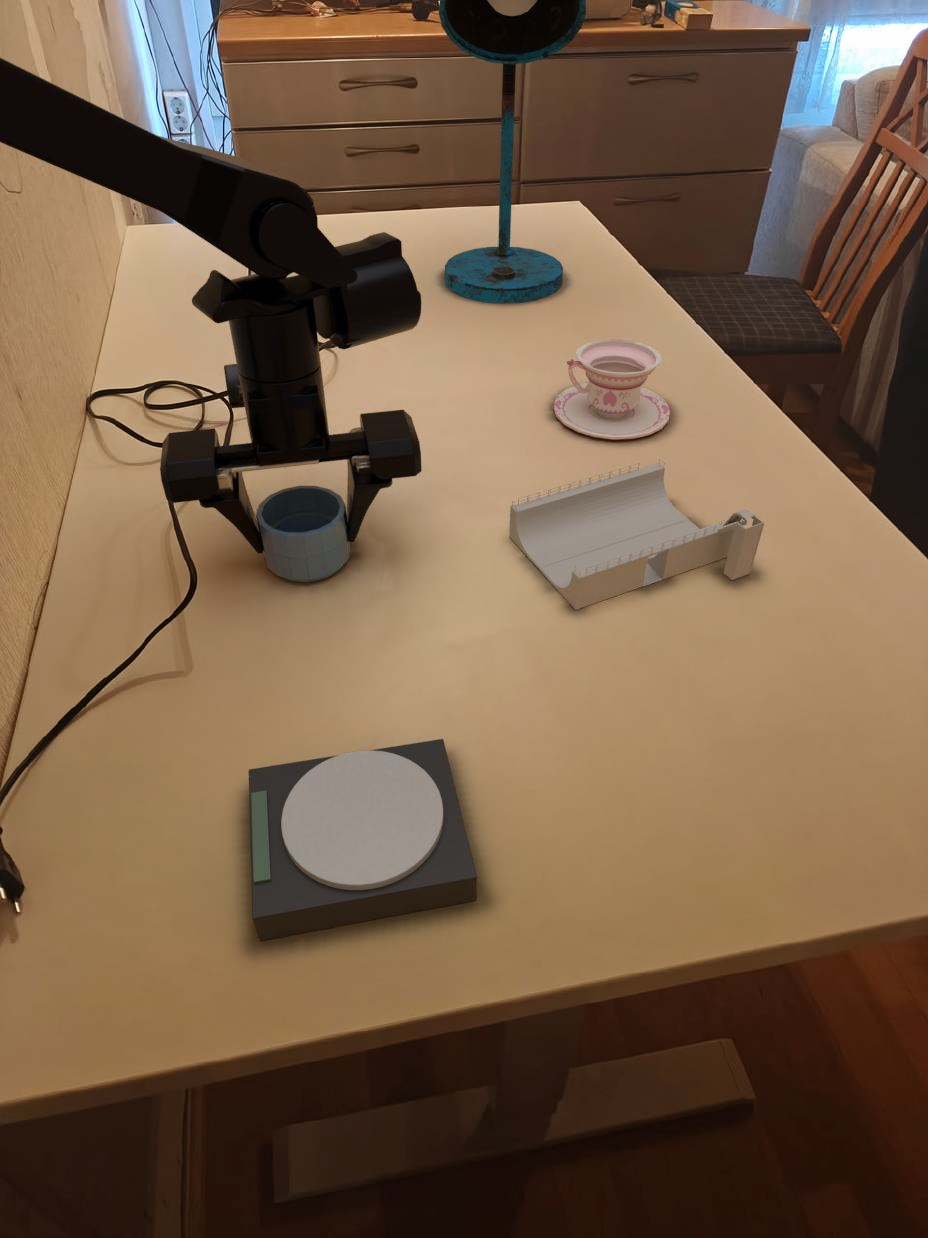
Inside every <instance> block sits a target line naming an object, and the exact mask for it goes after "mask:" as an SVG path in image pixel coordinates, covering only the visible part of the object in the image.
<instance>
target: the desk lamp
mask: <svg viewBox="0 0 928 1238" xmlns="http://www.w3.org/2000/svg"><path fill="white" fill-rule="evenodd" d="M586 2H587V1H586V0H439V6H438V16H439V21H440V24H441V28H442V30H443V31H444V32H445V35H446V36H447V37H448V39H449V40H450V41H451V43H453V45H456V47H458V49H460V50H461V51H462V52H464V53H466V54H468V55H470V56H471V57H474V58H476V59H477V60H478V59H479V60H482V61H485V62H489V63H492V64H502V83H501V84H502V85H501V117H500V118H501V120H500V121H501V122H500V158H499V159H500V160H499V161H500V164H499V167H500V168H499V199H498V200H499V201H498V202H499V203H498V204H499V205H498V207H499V208H498V242H497V244H498V246H484V247H478V248H473V249H469V250H465V251H462V252H459V253H457V254H455V255H453V256H451V258H449V259H448V260H447V261H446V263H445V265H444V283H445V286H446V287H447V288H448V289H449V290H450V291H451V292H452V293H455V294H456V295H459V296H460V297H463V298H465V299H469V300H472V301H479V302H483V303H484V302H485V303H493V304H518V303H519V304H520V303H527V302H532V301H537V300H540V299H545V298H547V297H549V296H551V295H553V294H556V293H557V292H558V291H559V289H560V288H562V285H563V281H564V280H563V279H564V266H563V264H562V262H561V261H560V260H559V259H557V258H556V257H555V256H553V255H550V254H548V253H546V252H544V251H539V250H536V249H533V248H526V247H520V246H511V228H512V223H511V222H512V197H513V168H514V167H513V165H514V163H513V162H514V135H515V134H514V133H515V108H516V107H515V105H516V104H515V103H516V74H517V73H516V72H517V70H516V69H517V65H520V64H529V63H532V62H536V61H540V60H543V59H546V58H549V57H550V56H552V55H554V54H557V53H559V52H560V51H561V50H562V49H564V48H566V47H567V46H568V45H569V44H570V43H571V42H572V41H573V40H574V39H575V37H576V36H577V35H578V33H579V32H580V30H581V29H582V26H583V24H584V21H585V18H586V15H587V3H586Z"/></svg>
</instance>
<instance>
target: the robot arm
mask: <svg viewBox="0 0 928 1238" xmlns="http://www.w3.org/2000/svg"><path fill="white" fill-rule="evenodd" d="M0 143H1V144H3V145H6V146H7V147H10V148H13V149H15V150H17V151H20V152H21V153H24V154H27V155H29V156H31V157H34V158H35V159H38V160H41V161H43V162H45V163H48V164H49V165H52V166H55V167H56V168H59V169H61V170H63V171H66V172H68V173H71V174H73V175H74V176H77V177H80V178H82V179H84V180H87V181H88V182H92V183H93V184H97V185H99V186H101V187H103V188H105V189H108V190H110V191H112V192H115V193H116V194H120V195H122V196H124V197H126V198H129V199H131V200H133V201H136V202H138V203H140V204H143V205H144V206H147V207H149V208H152V209H154V210H157V211H159V212H161V213H162V214H164V215H166V216H167V217H168V218H170V219H172V220H173V221H175V222H176V223H177V224H179V225H181V226H183V227H184V228H186V229H187V230H189V231H190V232H192V234H195V235H196V236H198V237H199V238H201V239H202V240H204V241H205V242H207V243H208V244H210V245H211V246H213V247H214V248H216V249H217V250H218V251H221V253H224V254H225V255H227V257H229V258H231V259H233V260H234V261H235V262H237V263H239V264H240V265H242V266H243V267H245V268H246V269H247V270H250V271H251V272H253V274H249V275H244V276H241V277H237V278H232V279H230V278H228V277H227V276H225V274H222V272H220V271H218V270H216V269H212V270H211V271H210V273H209V276H208V279H207V280H206V282H205V283H204V284H203V285H202V286H201V287H200V288H198V290H197V291H196V292H195V294H194V295H193V296H192V298H191V304H192V306H193V307H194V308H196V309H197V310H198V311H199V312H201V313H202V314H203V315H205V316H206V317H208V319H210V320H211V321H212V322H214V323H216V324H223V323H227V322H228V325H229V330H230V336H231V340H232V346H233V351H234V357H235V362H236V363H230V364H224V366H223V370H224V378H225V379H224V380H225V387H226V393H227V397H228V405H229V407H230V408H231V409H240V408H241V409H242V408H244V410H245V416H246V421H247V426H248V432H249V437H250V442H247V443H238V444H237V443H235V444H228V445H226V444H225V445H221V444H220V439H219V434H218V431H217V430H216V428H204V429H203V428H202V429H195V430H193V429H192V430H184V431H174V432H168V434H167V435H166V436H165V438H164V440H163V441H162V446H161V456H160V466H159V472H160V480H161V481H160V482H161V484H162V488H163V491H164V495H165V499H166V500H167V501H169V502H171V503H174V504H177V503H187V502H196V501H198V503H199V505H200V507H202V508H205V509H211V508H213V509H215V510H216V511H217V512H218V513H219V514H221V515H222V517H224V518H225V519H226V520H227V521H228V522H229V523H231V524H232V525H233V526H234V527H235V528H236V529H237V531H238V532H239V533H240V534H241V536H243V538H244V539H245V540H246V541H247V542H248V543H249V545H250V546H251V548H253V550H254V551H255V552H256V553H257V555H260V554H263V548H262V543H261V538H260V533H259V528H258V523H257V518H256V513H255V511H254V508H253V505H252V502H251V499H250V497H249V494H248V493H249V492H248V490H247V488H246V484H245V480H244V476H243V473H244V472H252V471H261V470H271V469H281V468H291V467H298V466H309V465H317V464H320V463H329V462H337V461H346V462H347V463H346V464H347V465H346V466H347V484H346V485H347V488H346V489H347V491H346V514H347V523H348V534H349V542H350V544H351V543H355V542H356V539H357V536H358V534H359V532H360V529H361V526H362V525H363V522H364V519H365V517H366V514H367V512H368V510H369V509H370V507H371V505H372V503H373V502H374V500H375V499H376V497H377V495H378V494H379V492H380V490H382V489H388V488H390V487H392V485H393V479H400V478H410V477H416V476H417V475H419V474H420V473H422V471H423V470H422V469H423V468H422V450H421V444H420V443H421V442H420V439H419V437H418V433H417V430H416V427H415V425H414V422H413V418H412V416H411V415H410V414H409V413H407V411H406V410H404V409H395V410H385V411H376V412H374V411H373V412H366V413H364V412H363V413H360V414H359V423H360V427H359V426H358V427H354V428H351V429H350V430H349V432H344V433H334V434H330V431H329V422H328V413H327V404H326V397H325V396H326V395H325V388H324V381H323V380H324V379H323V371H322V362H321V356H320V346H319V337H318V335H319V336H320V337H321V338H323V339H324V340H329V341H330V342H331V343H332V344H333V345H334V346H335V347H336V348H338V349H341V350H347V349H351V348H354V347H358V346H361V345H364V344H368V343H371V342H374V341H377V340H381V339H384V338H387V337H391V336H394V335H398V334H401V333H405V332H408V331H411V330H414V329H415V328H416V327H417V325H418V324H419V321H420V318H421V315H422V304H423V303H422V295H421V292H420V291H419V290H418V286H417V282H416V279H415V276H414V274H413V272H412V270H411V267H410V266H409V263H408V262H407V260H406V259H405V258H404V257H403V248H402V240H400V238H398V237H395V236H393V235H392V234H389V233H388V232H386V231H383V232H378V233H375V234H371V235H369V236H367V237H364V238H363V239H361V240H358V241H353V242H350V243H345V244H341V245H337V246H334V244H333V243H332V242H331V241H330V240H329V239H328V238H327V236H326V235H325V234H324V233H323V232H322V230H321V229H319V224H318V223H319V222H318V221H319V220H318V215H317V212H316V209H315V202H314V199H313V198H312V197H311V196H312V195H310V194H309V193H308V191H307V190H305V189H304V188H303V187H301V186H300V185H299V184H298V183H296V182H295V181H292V180H290V179H288V178H286V177H284V176H282V175H280V174H278V173H276V172H274V171H272V170H269V169H267V168H265V167H264V166H262V165H260V164H257V163H255V162H253V161H251V160H249V159H247V158H242V157H239V156H236V155H232V154H229V153H225V152H222V151H218V150H215V149H211V148H208V147H204V146H201V145H196V144H192V143H187V142H182V141H178V140H174V139H171V138H167V137H164V136H160V135H158V134H156V133H153V132H152V131H149V130H148V129H145V128H143V127H141V126H140V125H137V124H135V123H133V122H131V121H129V120H127V119H125V118H123V117H121V116H119V115H117V114H115V113H113V112H111V111H109V110H108V109H105V108H103V107H101V106H99V105H97V104H95V103H93V102H91V101H89V100H87V99H85V98H82V97H81V96H79V95H77V94H75V93H73V92H71V91H69V90H67V89H65V88H62V87H61V86H59V85H56V84H54V83H53V82H52V81H51V82H50V81H49V80H47V79H45V78H43V77H41V76H39V75H37V74H35V73H33V72H31V71H29V70H27V69H25V68H22V67H21V66H19V65H17V64H15V63H12V62H11V61H8V60H6V59H4V58H2V57H0ZM291 274H296V275H293V276H290V275H291Z"/></svg>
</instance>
